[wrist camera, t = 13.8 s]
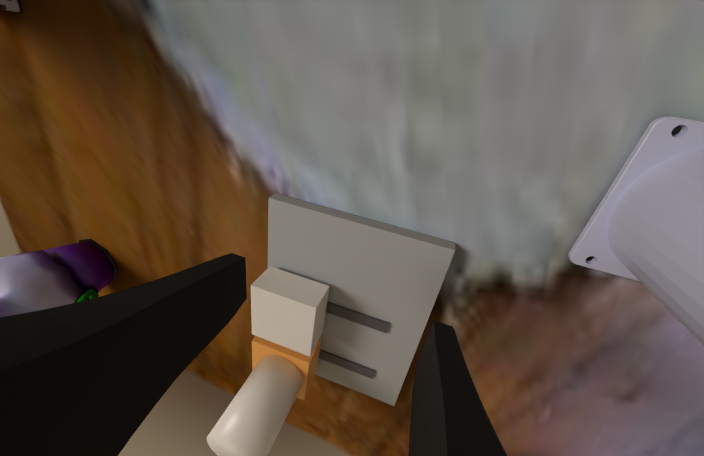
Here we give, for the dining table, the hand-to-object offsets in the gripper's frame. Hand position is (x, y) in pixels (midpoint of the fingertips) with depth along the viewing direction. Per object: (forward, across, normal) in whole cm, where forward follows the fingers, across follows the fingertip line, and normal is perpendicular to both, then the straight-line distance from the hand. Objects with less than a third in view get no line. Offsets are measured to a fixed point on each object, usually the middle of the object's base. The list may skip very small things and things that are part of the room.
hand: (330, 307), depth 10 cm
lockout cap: (+6, +5, +15) cm, 17 cm away
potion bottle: (+10, +30, +15) cm, 35 cm away
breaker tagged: (+8, +5, +15) cm, 18 cm away
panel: (+10, +2, +10) cm, 14 cm away
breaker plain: (+8, +5, +9) cm, 13 cm away
